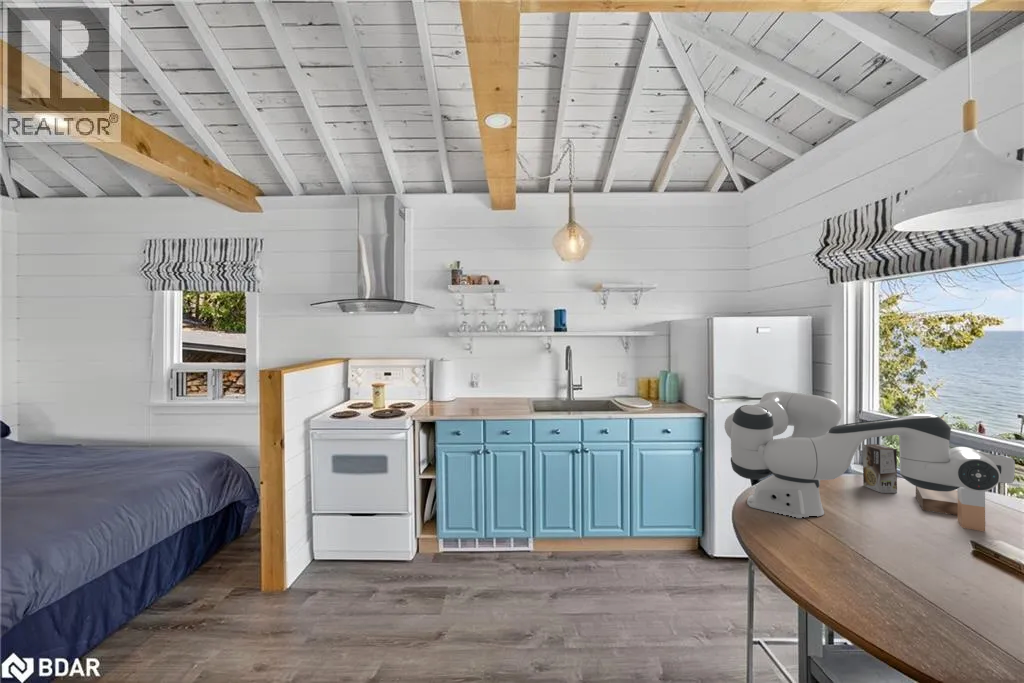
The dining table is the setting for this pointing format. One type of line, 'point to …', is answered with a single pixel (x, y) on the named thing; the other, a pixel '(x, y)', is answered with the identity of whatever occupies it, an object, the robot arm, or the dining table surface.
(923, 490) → the stand
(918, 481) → the robot arm
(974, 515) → the block
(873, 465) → the coffee box
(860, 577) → the dining table surface
